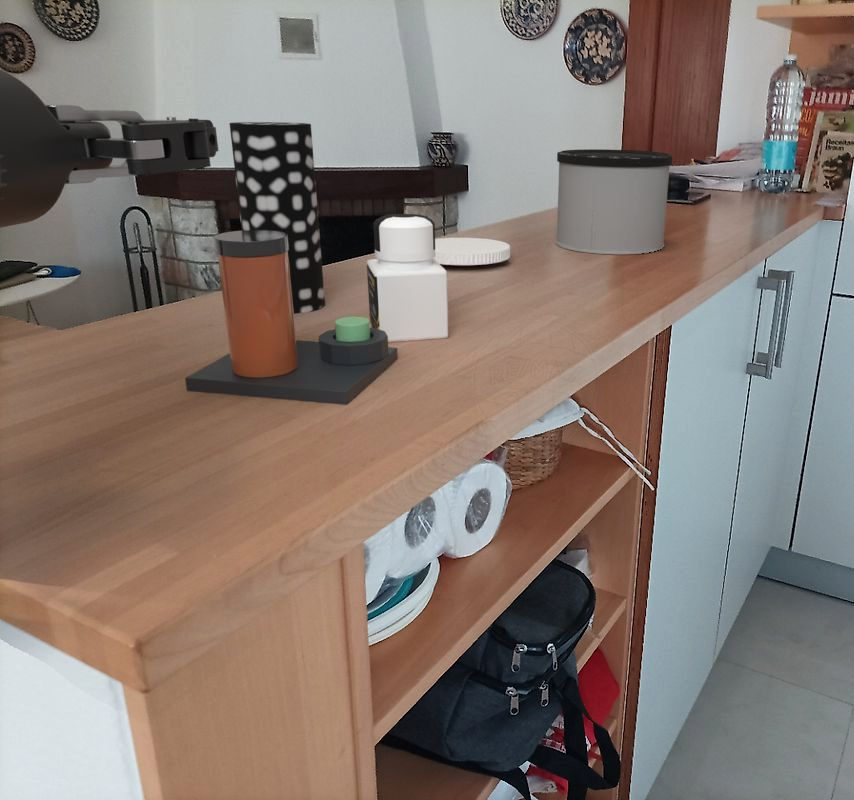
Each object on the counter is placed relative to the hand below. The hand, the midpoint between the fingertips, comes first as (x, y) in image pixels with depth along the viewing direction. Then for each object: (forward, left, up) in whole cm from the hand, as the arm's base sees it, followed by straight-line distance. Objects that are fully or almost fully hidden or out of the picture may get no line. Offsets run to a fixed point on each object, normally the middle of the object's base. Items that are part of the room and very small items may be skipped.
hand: (148, 135), depth 50 cm
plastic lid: (+3, +65, -21) cm, 68 cm away
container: (+23, +87, -21) cm, 92 cm away
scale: (+2, +13, -20) cm, 24 cm away
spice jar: (0, +11, -19) cm, 22 cm away
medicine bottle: (+7, +28, -21) cm, 36 cm away
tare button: (+6, +16, -18) cm, 25 cm away
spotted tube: (-10, +35, -21) cm, 42 cm away
